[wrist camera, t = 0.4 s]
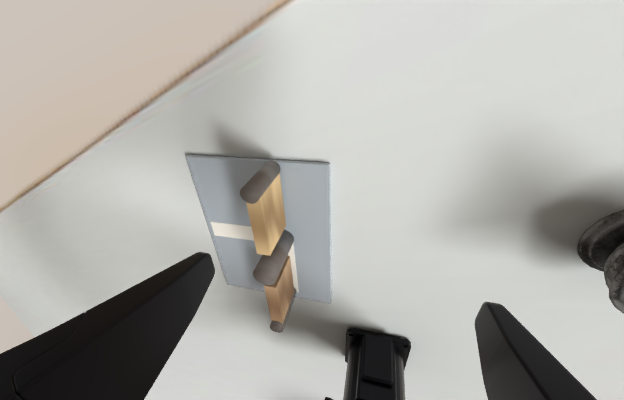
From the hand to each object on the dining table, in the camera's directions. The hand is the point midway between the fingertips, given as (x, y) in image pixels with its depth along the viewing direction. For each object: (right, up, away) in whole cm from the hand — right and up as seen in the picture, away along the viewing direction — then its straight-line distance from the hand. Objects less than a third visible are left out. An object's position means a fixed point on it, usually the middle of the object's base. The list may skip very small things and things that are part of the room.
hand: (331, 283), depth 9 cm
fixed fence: (-3, -3, +16) cm, 16 cm away
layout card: (-5, -1, +15) cm, 15 cm away
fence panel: (-3, +3, +11) cm, 12 cm away
